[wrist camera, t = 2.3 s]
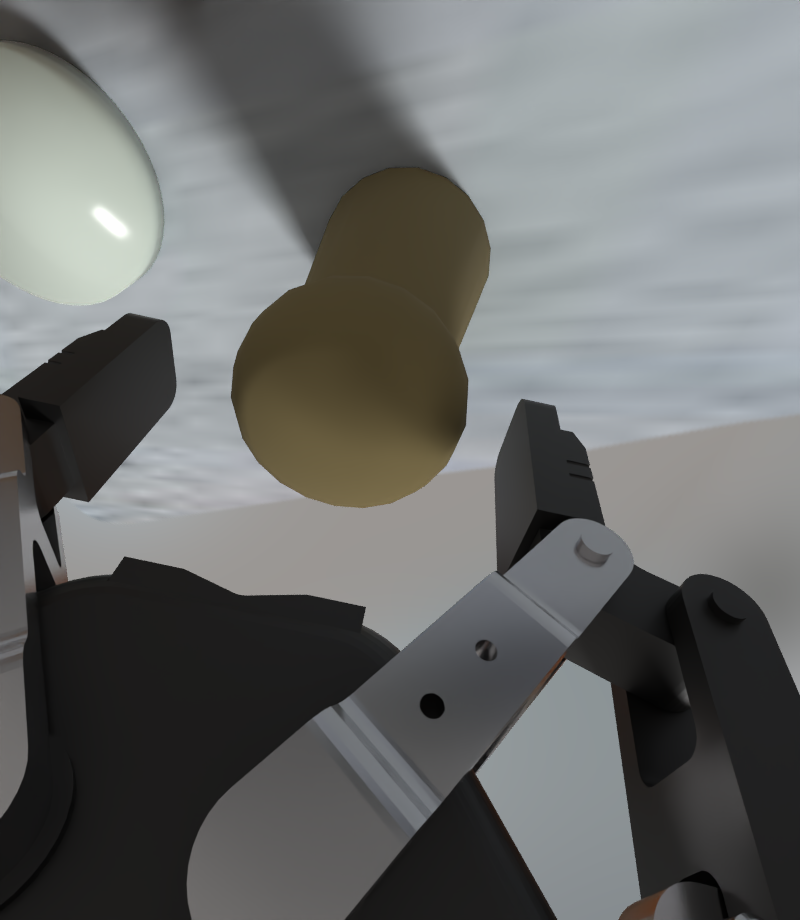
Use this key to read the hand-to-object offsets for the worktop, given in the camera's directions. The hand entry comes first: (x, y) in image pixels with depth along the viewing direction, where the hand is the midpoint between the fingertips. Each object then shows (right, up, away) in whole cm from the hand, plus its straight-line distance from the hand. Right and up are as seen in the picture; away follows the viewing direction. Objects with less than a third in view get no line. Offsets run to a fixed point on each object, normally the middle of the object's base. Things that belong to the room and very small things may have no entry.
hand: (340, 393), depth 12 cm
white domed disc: (-11, +9, +7) cm, 16 cm away
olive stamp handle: (+2, +6, +7) cm, 9 cm away
